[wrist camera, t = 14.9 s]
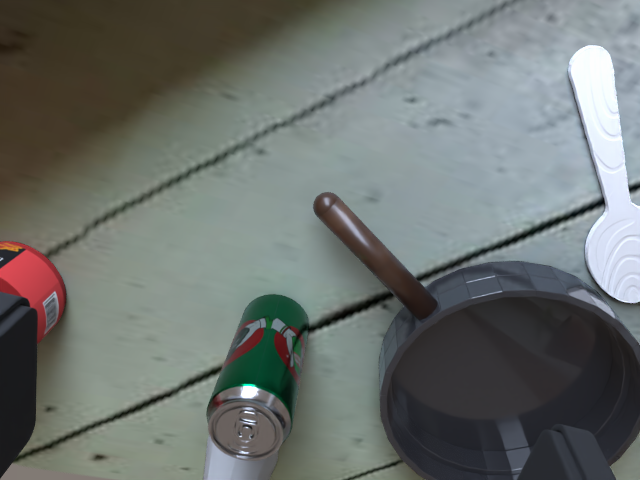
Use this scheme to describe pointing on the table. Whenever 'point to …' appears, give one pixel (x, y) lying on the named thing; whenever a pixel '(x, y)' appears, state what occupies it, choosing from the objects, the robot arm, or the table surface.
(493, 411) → the pan
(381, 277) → the pan handle
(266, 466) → the salt shaker
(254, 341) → the soda can
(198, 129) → the table surface
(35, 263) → the canned food
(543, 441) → the robot arm
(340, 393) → the table surface
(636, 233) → the spoon
